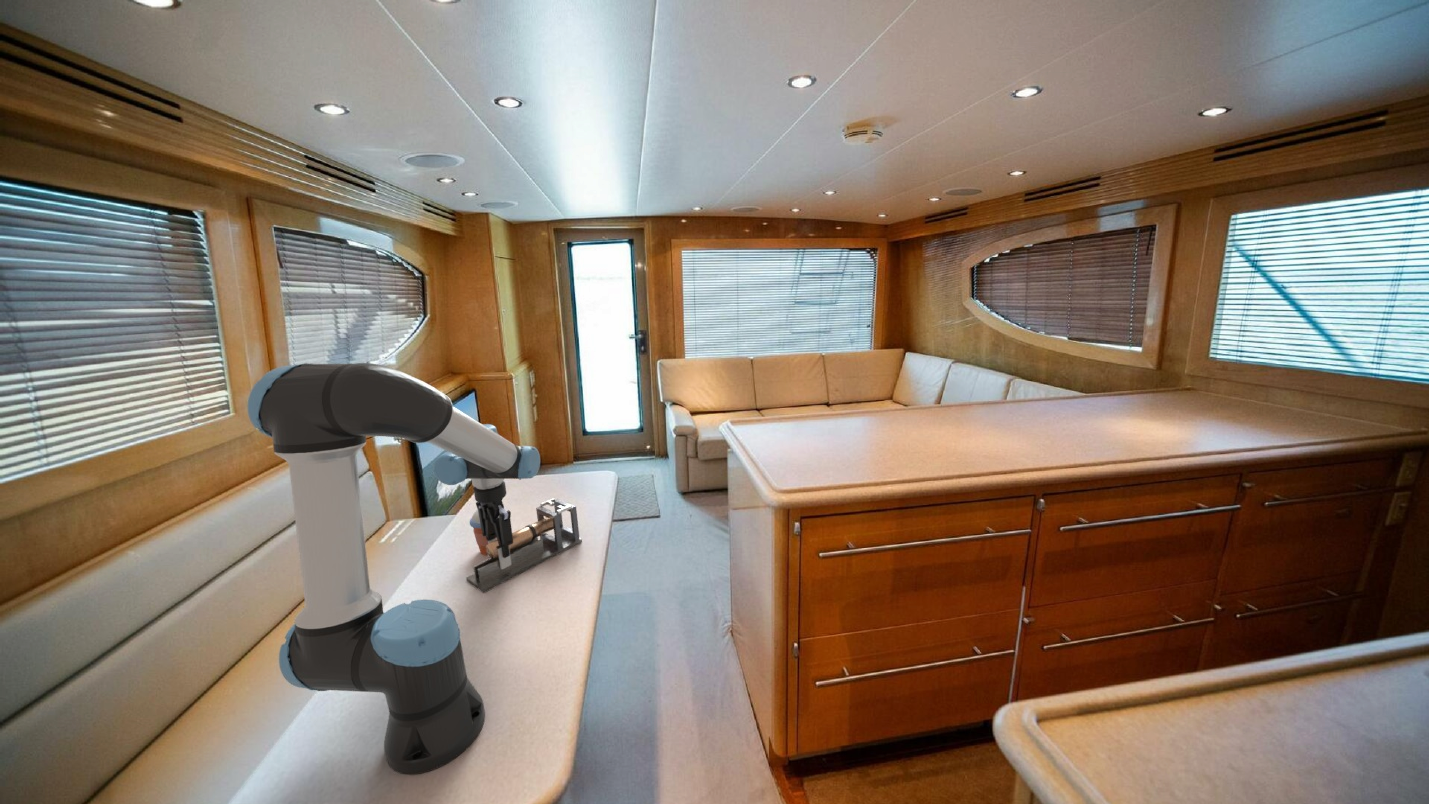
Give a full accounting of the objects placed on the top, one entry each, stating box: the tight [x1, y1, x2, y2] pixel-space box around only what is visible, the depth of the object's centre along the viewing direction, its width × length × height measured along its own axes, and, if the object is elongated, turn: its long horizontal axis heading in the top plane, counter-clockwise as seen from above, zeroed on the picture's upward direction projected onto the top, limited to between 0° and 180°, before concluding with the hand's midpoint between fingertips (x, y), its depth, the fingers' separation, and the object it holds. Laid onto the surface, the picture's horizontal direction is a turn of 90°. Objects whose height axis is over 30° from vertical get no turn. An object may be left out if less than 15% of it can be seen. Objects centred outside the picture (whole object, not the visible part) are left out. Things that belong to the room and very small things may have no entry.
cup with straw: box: [469, 509, 497, 556], centre depth 141 cm, size 9×9×18 cm
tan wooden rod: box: [486, 517, 554, 559], centre depth 136 cm, size 20×4×4 cm, turn 142°
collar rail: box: [465, 497, 583, 594], centre depth 136 cm, size 30×9×13 cm, turn 142°
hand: (501, 563), depth 131 cm, fingers closed on tan wooden rod, 4 cm apart
